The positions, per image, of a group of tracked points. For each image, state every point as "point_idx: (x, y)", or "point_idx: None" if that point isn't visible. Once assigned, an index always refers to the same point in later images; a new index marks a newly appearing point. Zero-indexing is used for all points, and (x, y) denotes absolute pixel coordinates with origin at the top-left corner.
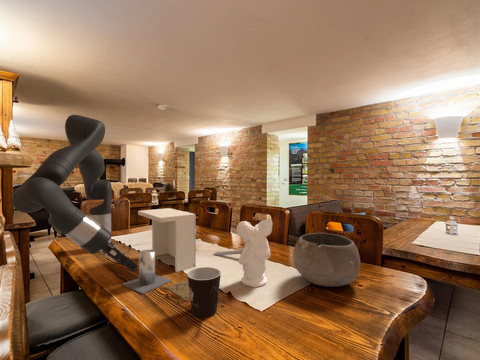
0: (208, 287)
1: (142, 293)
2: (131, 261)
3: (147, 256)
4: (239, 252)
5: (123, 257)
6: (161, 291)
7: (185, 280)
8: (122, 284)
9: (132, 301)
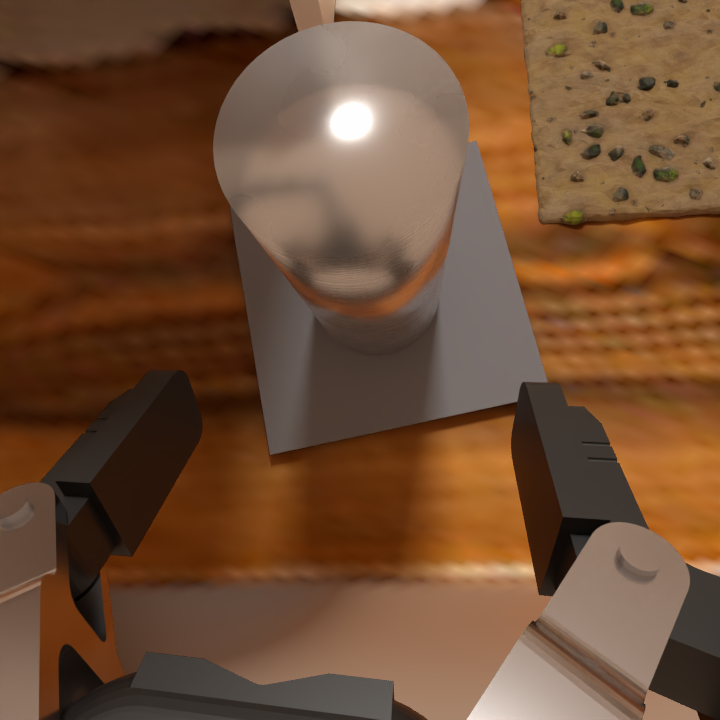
0: None
1: None
2: (591, 479)
3: (459, 186)
4: None
5: (149, 446)
6: (594, 270)
7: (535, 67)
8: (272, 454)
9: None
